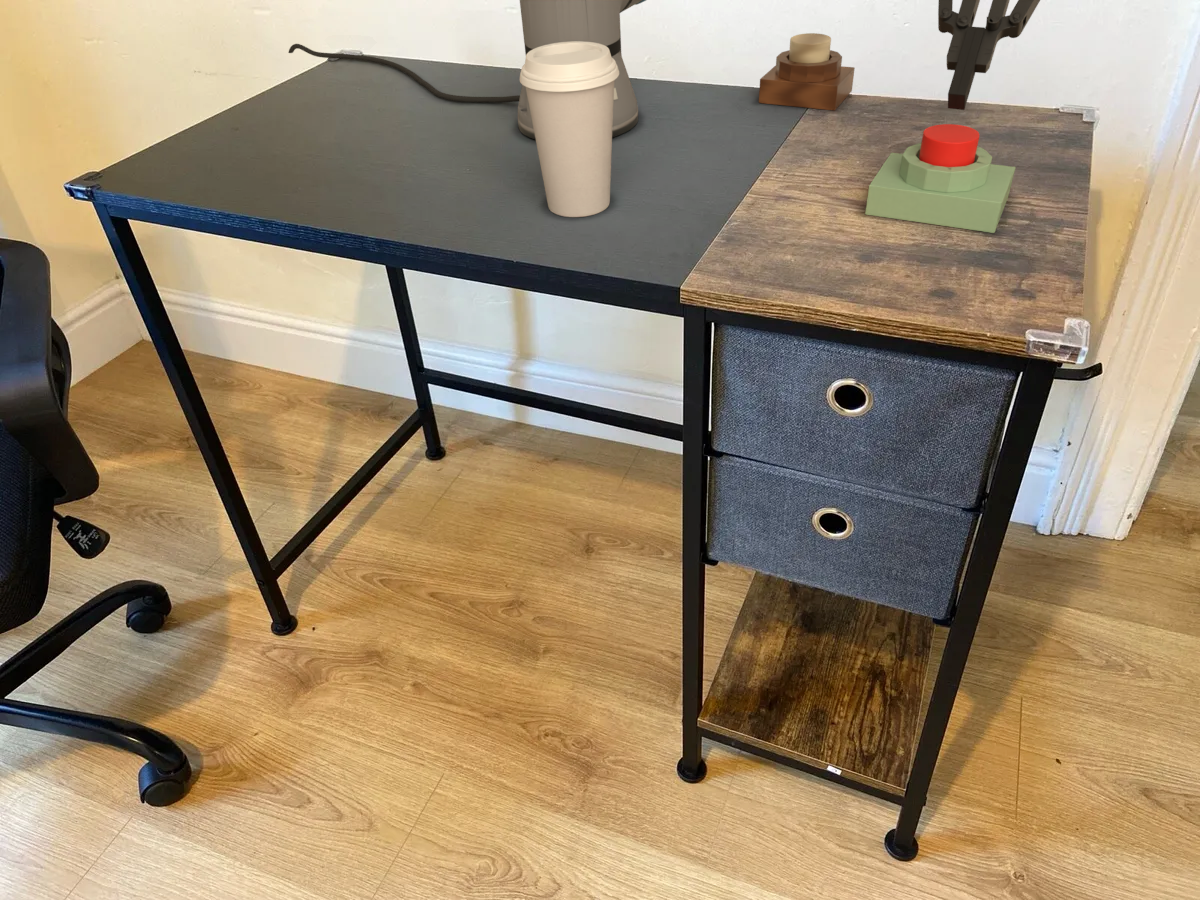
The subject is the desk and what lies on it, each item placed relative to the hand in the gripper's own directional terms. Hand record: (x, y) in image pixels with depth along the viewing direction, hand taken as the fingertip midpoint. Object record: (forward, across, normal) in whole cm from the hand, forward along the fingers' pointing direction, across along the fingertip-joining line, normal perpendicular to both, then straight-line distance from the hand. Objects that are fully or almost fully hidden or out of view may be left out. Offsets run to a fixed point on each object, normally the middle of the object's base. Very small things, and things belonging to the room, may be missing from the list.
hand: (956, 101), depth 81 cm
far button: (-16, +22, -24) cm, 36 cm away
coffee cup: (+16, +34, +1) cm, 37 cm away
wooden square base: (-12, +22, -27) cm, 37 cm away
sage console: (+7, 0, -7) cm, 10 cm away
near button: (+4, 0, -4) cm, 5 cm away
